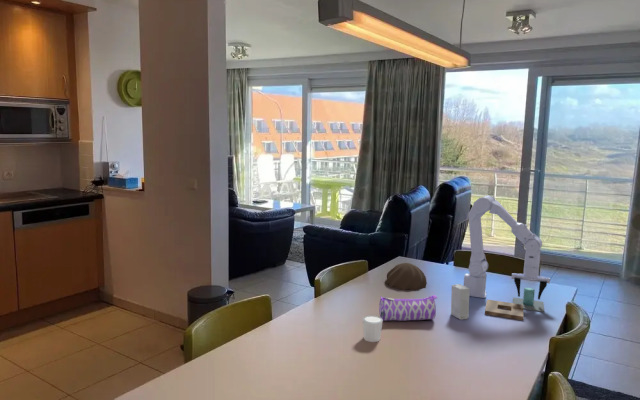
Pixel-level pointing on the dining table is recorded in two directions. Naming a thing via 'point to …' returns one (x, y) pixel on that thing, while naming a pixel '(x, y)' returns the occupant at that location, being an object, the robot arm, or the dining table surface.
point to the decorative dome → (406, 277)
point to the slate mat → (536, 306)
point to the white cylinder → (372, 328)
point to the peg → (528, 296)
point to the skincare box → (460, 301)
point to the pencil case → (407, 308)
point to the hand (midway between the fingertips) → (528, 297)
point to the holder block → (513, 314)
